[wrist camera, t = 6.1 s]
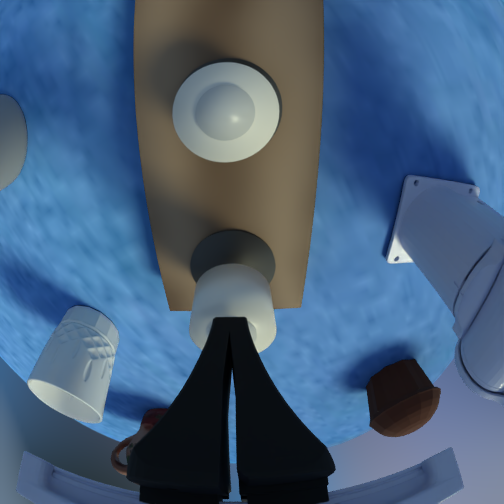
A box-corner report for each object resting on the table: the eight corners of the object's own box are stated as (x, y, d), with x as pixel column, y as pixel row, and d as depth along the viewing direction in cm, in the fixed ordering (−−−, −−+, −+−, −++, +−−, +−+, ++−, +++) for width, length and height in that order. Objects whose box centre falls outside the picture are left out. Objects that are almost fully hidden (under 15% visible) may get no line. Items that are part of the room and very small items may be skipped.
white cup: (50, 302, 24) (12, 374, 15) (103, 297, 23) (66, 384, 15) (84, 349, 28) (61, 417, 19) (136, 348, 27) (117, 427, 19)
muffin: (395, 392, 39) (411, 438, 31) (345, 397, 37) (359, 452, 28) (437, 350, 33) (462, 401, 24) (388, 352, 31) (415, 416, 22)
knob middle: (271, 68, 12) (280, 62, 9) (270, 148, 14) (278, 162, 11) (184, 71, 11) (169, 66, 9) (187, 151, 14) (175, 166, 11)
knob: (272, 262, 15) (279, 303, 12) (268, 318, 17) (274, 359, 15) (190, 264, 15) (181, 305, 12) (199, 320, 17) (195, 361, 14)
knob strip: (306, -61, 8) (317, -80, 5) (294, 282, 23) (301, 309, 20) (157, -57, 7) (144, -75, 5) (176, 285, 23) (169, 312, 20)
